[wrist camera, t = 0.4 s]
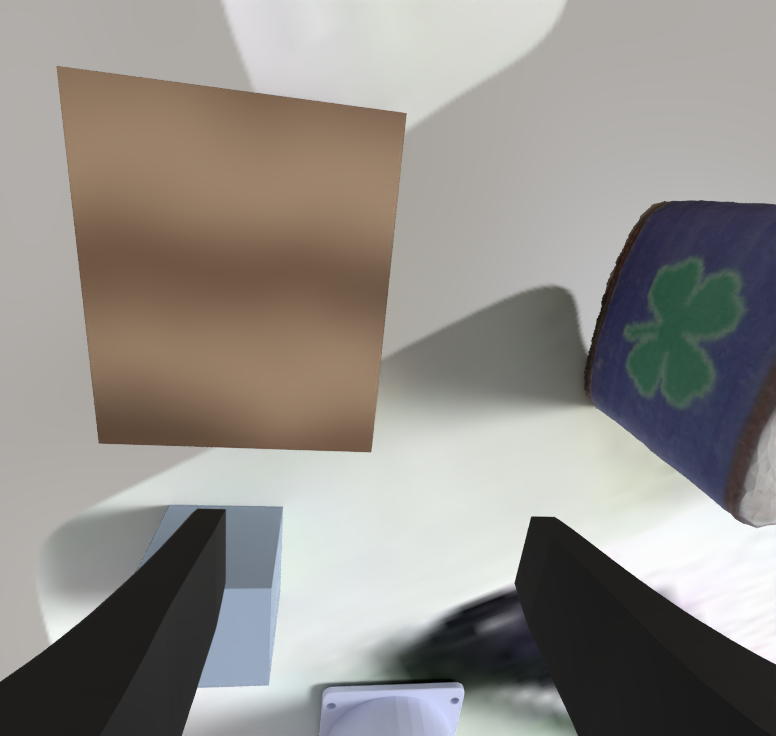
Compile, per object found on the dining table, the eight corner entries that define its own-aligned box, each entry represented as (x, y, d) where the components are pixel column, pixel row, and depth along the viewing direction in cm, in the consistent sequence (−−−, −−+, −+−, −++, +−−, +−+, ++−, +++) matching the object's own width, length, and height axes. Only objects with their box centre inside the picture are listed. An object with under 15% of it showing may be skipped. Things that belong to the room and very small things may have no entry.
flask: (622, 409, 23) (853, 582, 13) (565, 401, 22) (759, 574, 12) (701, 205, 20) (1083, 222, 10) (637, 191, 19) (971, 192, 9)
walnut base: (366, 423, 21) (371, 452, 19) (125, 413, 20) (98, 443, 18) (395, 123, 17) (406, 113, 15) (96, 83, 16) (56, 66, 14)
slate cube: (280, 589, 24) (268, 685, 19) (175, 590, 23) (137, 689, 19) (283, 505, 22) (271, 588, 18) (170, 503, 22) (127, 589, 17)
